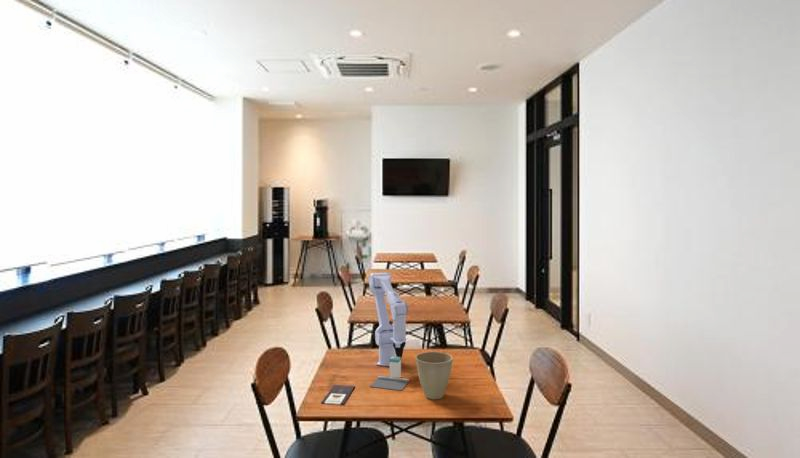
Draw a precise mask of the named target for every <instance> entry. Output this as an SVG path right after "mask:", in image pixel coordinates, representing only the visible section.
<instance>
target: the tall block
mask: <svg viewBox="0 0 800 458" xmlns="http://www.w3.org/2000/svg"><path fill="white" fill-rule="evenodd" d="M389 362H390V366H389V377H396V378H401V377H402V359H401V357H394V356H392V357H391V358H390V359H389Z"/></svg>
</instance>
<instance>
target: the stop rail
mask: <svg viewBox="0 0 800 458" xmlns="http://www.w3.org/2000/svg"><path fill="white" fill-rule="evenodd" d="M377 379H383V380H392V381H400V382H408V383H409V382H410V379H409V378H401V377H400V378H396V377H390V376H386V375H385V376H384V375H378V376H377ZM377 379H376V380H377Z"/></svg>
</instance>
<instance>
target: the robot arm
mask: <svg viewBox="0 0 800 458" xmlns="http://www.w3.org/2000/svg"><path fill="white" fill-rule="evenodd" d="M391 281H392V277H391V274H390V272H387V271H386V272H378V273H377V272H376V273H373V272H371V273H370V274H369V276H368V286H369V289H370V292H372V293H373V298H374V302H375V308H376V312H377V313H376V314H377V320H378V324H379V325H378V327H377V328H376V329H375V331H374V340H375V344H376V345H377V346H378V362H377V363H376V364H375V365H376V366H383V367H390V362H389V359H390V358H391V357H392V356H394V357H401V360H402V358H403V354H404V348H406V347H405V346H406V343H407V342H406V341H407V337H406V336H407V335H406V333H407V332H406V328H407V327H406V326H407V324H406V323H407V321H406V320H407V319H406V318H407V317H406V315H408V313H409V307H408V304H407V302H406V301H403V300H402V299H401V297H400V295H399V293H398V292H397V291H395V290H394V288H393V286H392V284H391V283H392V282H391ZM385 294H386V298H385ZM386 300H387V302H388V304H389V306H390V313H391V319H392V324H391V323H390V319H389V315H388V314H389V313H388V308H387V303H386Z"/></svg>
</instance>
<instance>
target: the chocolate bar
mask: <svg viewBox="0 0 800 458" xmlns="http://www.w3.org/2000/svg"><path fill="white" fill-rule="evenodd" d="M354 389H355V385H339V384H333V385H332V386H331V388H330V390H329V391H328V393H327V394H326V395H325V396H324V398H323V399H322V400H321V404H322V405H323V404H324V405H333V406H335V405H337V406H344V405H345V404H346V402H347V401H348V399H349V397H350V396H351V394H352V393H353V391H354Z"/></svg>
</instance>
